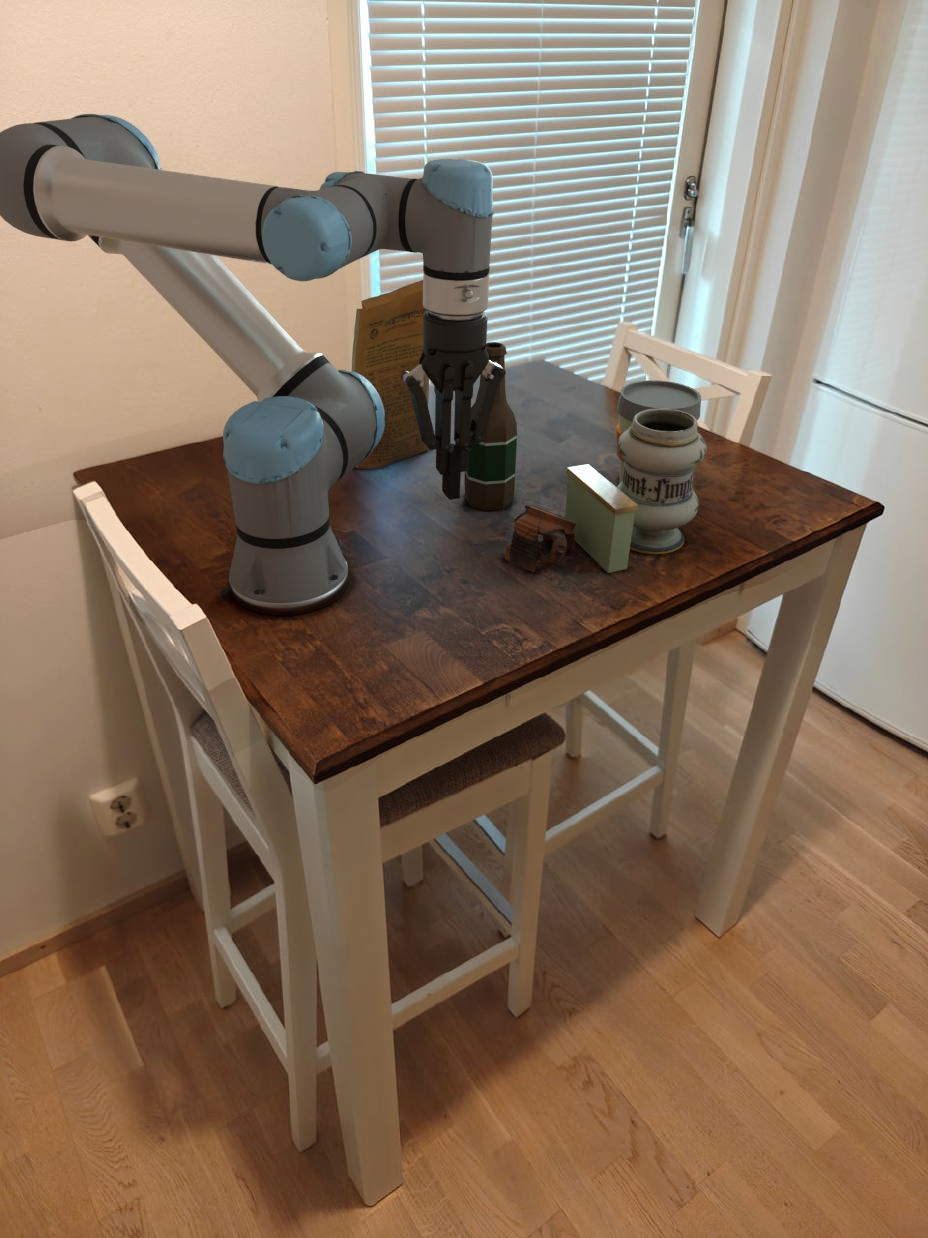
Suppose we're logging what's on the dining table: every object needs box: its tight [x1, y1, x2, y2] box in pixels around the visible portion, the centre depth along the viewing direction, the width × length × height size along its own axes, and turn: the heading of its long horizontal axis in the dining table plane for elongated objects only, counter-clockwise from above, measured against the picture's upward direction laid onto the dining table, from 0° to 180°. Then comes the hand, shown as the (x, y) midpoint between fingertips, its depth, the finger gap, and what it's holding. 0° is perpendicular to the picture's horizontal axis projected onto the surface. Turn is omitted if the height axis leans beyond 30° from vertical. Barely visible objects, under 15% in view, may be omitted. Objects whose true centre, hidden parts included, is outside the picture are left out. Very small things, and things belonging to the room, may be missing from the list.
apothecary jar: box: [616, 409, 708, 555], centre depth 123 cm, size 12×12×18 cm
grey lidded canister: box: [615, 379, 702, 484], centre depth 138 cm, size 13×13×15 cm
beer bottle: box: [463, 341, 518, 511], centre depth 130 cm, size 8×8×24 cm
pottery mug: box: [504, 504, 576, 573], centre depth 121 cm, size 12×10×8 cm
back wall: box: [564, 463, 638, 574], centre depth 122 cm, size 3×13×10 cm, turn 22°
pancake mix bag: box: [351, 279, 430, 470], centre depth 142 cm, size 7×19×28 cm, turn 134°
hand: (450, 494), depth 116 cm, fingers closed
